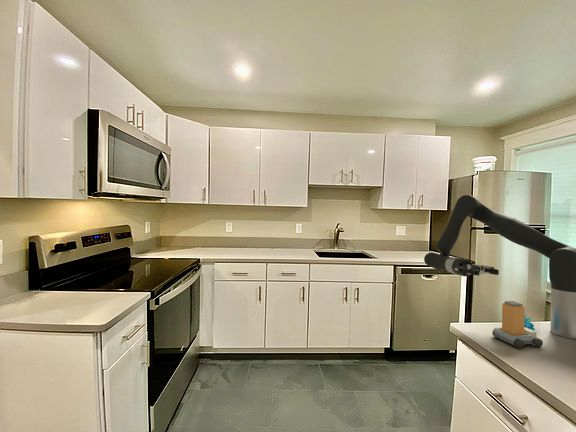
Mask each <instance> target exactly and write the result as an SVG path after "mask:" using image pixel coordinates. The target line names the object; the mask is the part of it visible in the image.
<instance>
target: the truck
mask: <svg viewBox="0 0 576 432" xmlns="http://www.w3.org/2000/svg"><path fill="white" fill-rule="evenodd" d="M537 335H538V334H537V331H536V330H534V331H533V330H531V329H528V328H526V327H524V335H520V336H512V335H510V334H508V333H506V332H504V331H502V327H494V329H493V330H492V336H493V337H495V338H496V339H500V340H501V341H504V342H506V343H508V344H510V345H512V346H514V347H515V348H517V349H519V350H522V349H524V348H525V345H533V346H534V347H535V348H538V349H540V348H542V347H543V345H544V342H543V340H542V339H541V338H539V337H538V336H537Z"/></svg>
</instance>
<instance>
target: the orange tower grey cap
mask: <svg viewBox="0 0 576 432" xmlns="http://www.w3.org/2000/svg"><path fill="white" fill-rule="evenodd" d="M501 309H502V310H501V311H502V312H501V315H502V316H501V328H502V331H504V332H506V333H508V334H510V335H512V336H520V335H524V325H525V317H526V316H525V315H526V313H525V312H526V307H525V306H524V305H523V303H521V302H517V301H514V300H509V301H508V300H505V301H504V302H502V305H501Z"/></svg>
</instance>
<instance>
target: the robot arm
mask: <svg viewBox="0 0 576 432" xmlns="http://www.w3.org/2000/svg"><path fill="white" fill-rule="evenodd" d="M468 217H469V218H471V219H474V220H476V221H477V222H480V223H483V224H484V225H485V226H487V227H488V228H490V229H491V230H492V231H494V232H495V233H496V234H498V235H499V236H501V237H503V238H504V239H506V240H508V241H510V242H511V243H514V244H516V245H519V246H521V247H523V248H526V249H529V250H532V251H535V252H537V253H539V254H541V255H543V256H544V257H546V258H547V259H548V278H549V282H550V332H551V333H552V334H554V335H557V336H560V337H563V338H568V339H576V247H573V246H570V245H568V244H565V243H563V242H560V241H558V240H556V239H553V238H552V237H549V236H547V235H546V234H544V233H542V232H541V231H539V230H537V229H536V228H534V227H532V226H530V225H529V224H526V223H525V222H523V221H521V220H520V219H517V218H515V217H512V216H510V215H508V214H504V213H502V212H498V211H496V210H494V209H491V207H488V206H487V205H485V204H484V203H482V202H481V201H480V200H479V199H477V198H476V197H475V196H473V195H471V194H464V195H461V196H460V197H459V198H458V199H457V200H456V202H455V204H454V207H453V210H452V212H451V215H450V218H449V221H448V223H447V224H446V227H445V229H444V231H443V232H442V234H441V236H440V237H439V239H438V241H437V243H436V245H435V248H436V249H437V250H438V251H439V253H436V252H428V253H426V254H425V255H424V258H423V261H424V263H425V264H426V266H429V267H430V268H432V269H434V270H437V271H444V272H449V273H451V274H453V275H458V276H461V277H469V276H471V275H473V276H477V277H478V276H480V275H485V274H490V275H494V276H498V275H499V269H498V268H495V267H494V266H489V265H483V264H481V265H478V264H476V263H473V262H472V260H470V259H467V258H461V257H456V256H454V257H453V256H450V254H451V251H452V249H453V248H454V246H455V245H456V242H457V241H458V238H459V236H460V232H461V229H462V227H463V224H464V222H465V220H466V219H467V218H468Z"/></svg>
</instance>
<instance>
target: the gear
mask: <svg viewBox="0 0 576 432" xmlns="http://www.w3.org/2000/svg"><path fill="white" fill-rule="evenodd" d="M524 327H526V328H528V329H531V330H533V331H536V329H535V325H534V323H532V318H531V317H530V316H529V317H527V314H525V325H524Z"/></svg>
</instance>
